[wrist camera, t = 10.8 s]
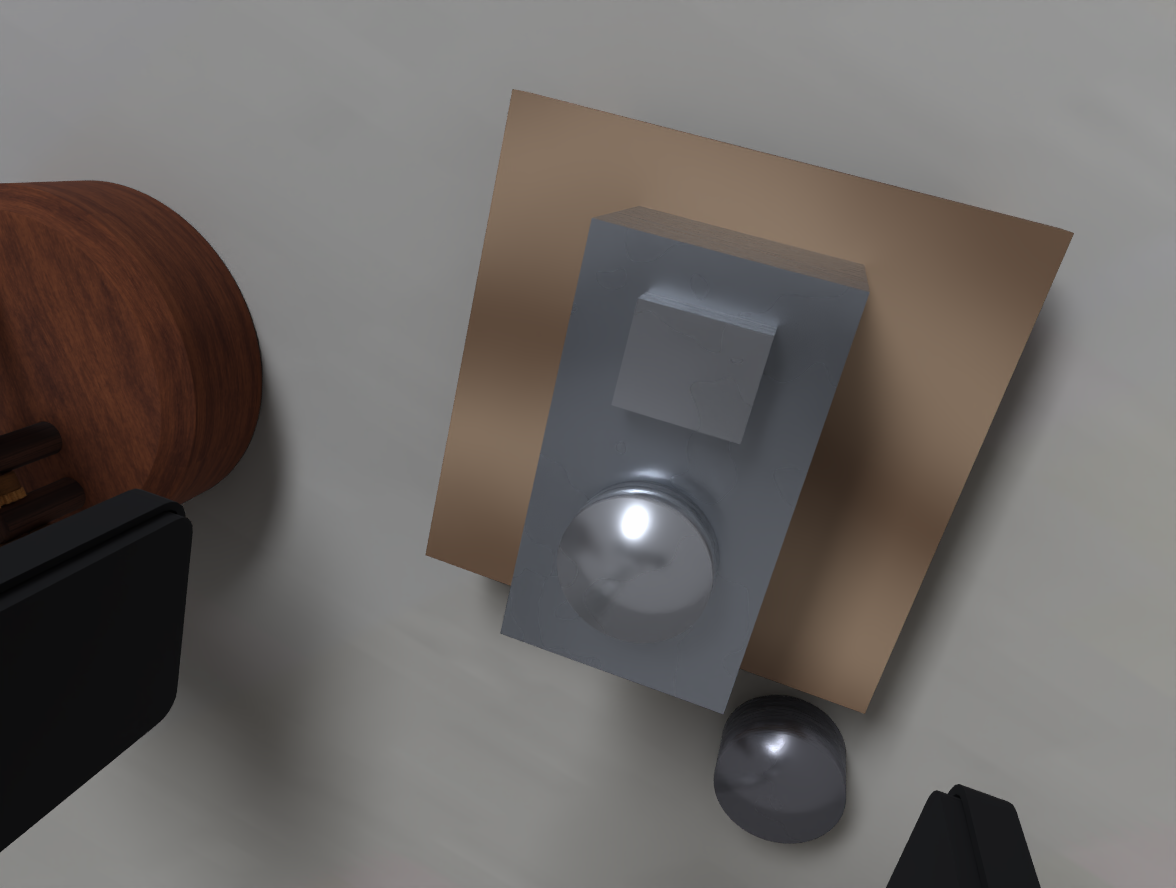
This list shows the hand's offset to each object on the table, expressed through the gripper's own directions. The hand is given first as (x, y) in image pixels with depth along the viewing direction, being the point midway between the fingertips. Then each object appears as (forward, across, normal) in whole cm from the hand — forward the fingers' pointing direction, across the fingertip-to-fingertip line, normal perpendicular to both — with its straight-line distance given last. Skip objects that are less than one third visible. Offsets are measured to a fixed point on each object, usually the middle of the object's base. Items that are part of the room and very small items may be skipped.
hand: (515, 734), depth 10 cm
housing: (+11, 0, -1) cm, 11 cm away
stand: (+14, 0, -1) cm, 14 cm away
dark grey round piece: (+15, -6, +9) cm, 18 cm away
